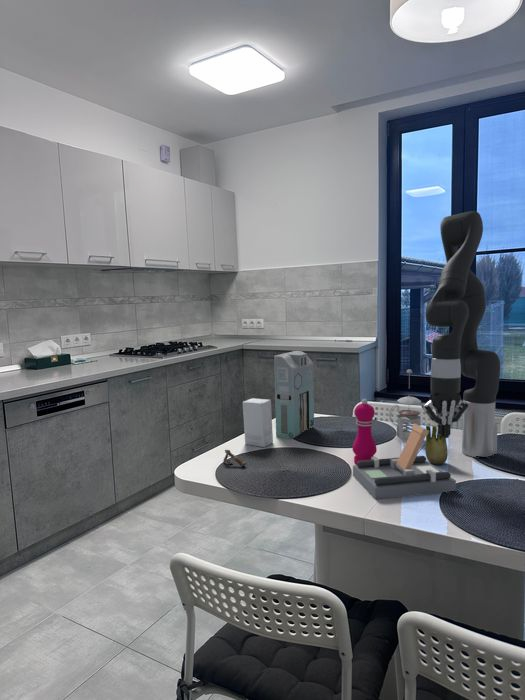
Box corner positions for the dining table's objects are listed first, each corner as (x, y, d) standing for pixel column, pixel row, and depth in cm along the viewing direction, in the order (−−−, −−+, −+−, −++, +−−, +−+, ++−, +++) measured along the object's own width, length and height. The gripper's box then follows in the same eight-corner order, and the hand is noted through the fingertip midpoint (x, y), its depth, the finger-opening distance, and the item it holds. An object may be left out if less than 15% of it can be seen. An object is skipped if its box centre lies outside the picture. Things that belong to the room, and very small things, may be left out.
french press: (427, 443, 160) (428, 371, 157) (393, 443, 160) (394, 372, 157) (418, 434, 170) (419, 367, 167) (386, 435, 170) (386, 367, 167)
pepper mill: (377, 467, 138) (377, 401, 136) (352, 466, 140) (352, 401, 138) (376, 459, 145) (376, 396, 143) (352, 458, 147) (352, 396, 145)
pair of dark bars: (423, 460, 135) (423, 452, 135) (452, 480, 120) (453, 471, 120) (355, 465, 132) (355, 458, 132) (376, 487, 117) (376, 478, 117)
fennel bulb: (423, 463, 141) (424, 424, 140) (430, 458, 145) (431, 421, 143) (442, 467, 137) (443, 428, 136) (449, 463, 141) (450, 424, 140)
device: (293, 439, 168) (292, 356, 165) (275, 436, 172) (274, 355, 169) (314, 427, 182) (313, 351, 178) (297, 425, 186) (295, 350, 183)
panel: (424, 469, 136) (424, 452, 136) (455, 491, 120) (456, 472, 120) (352, 475, 133) (352, 458, 132) (375, 499, 117) (375, 479, 116)
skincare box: (273, 442, 164) (272, 399, 162) (263, 448, 159) (262, 403, 157) (253, 439, 169) (252, 397, 167) (243, 444, 163) (242, 401, 161)
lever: (398, 468, 129) (418, 425, 129) (408, 476, 123) (429, 431, 123) (393, 465, 129) (413, 422, 129) (403, 474, 123) (424, 428, 123)
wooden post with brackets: (223, 458, 147) (227, 447, 145) (242, 473, 143) (246, 461, 142) (219, 460, 145) (224, 448, 144) (238, 475, 142) (243, 463, 140)
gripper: (460, 371, 130) (458, 431, 132) (415, 373, 128) (414, 434, 130) (476, 375, 122) (474, 439, 124) (429, 378, 120) (428, 443, 122)
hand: (444, 437), depth 127 cm, fingers closed
